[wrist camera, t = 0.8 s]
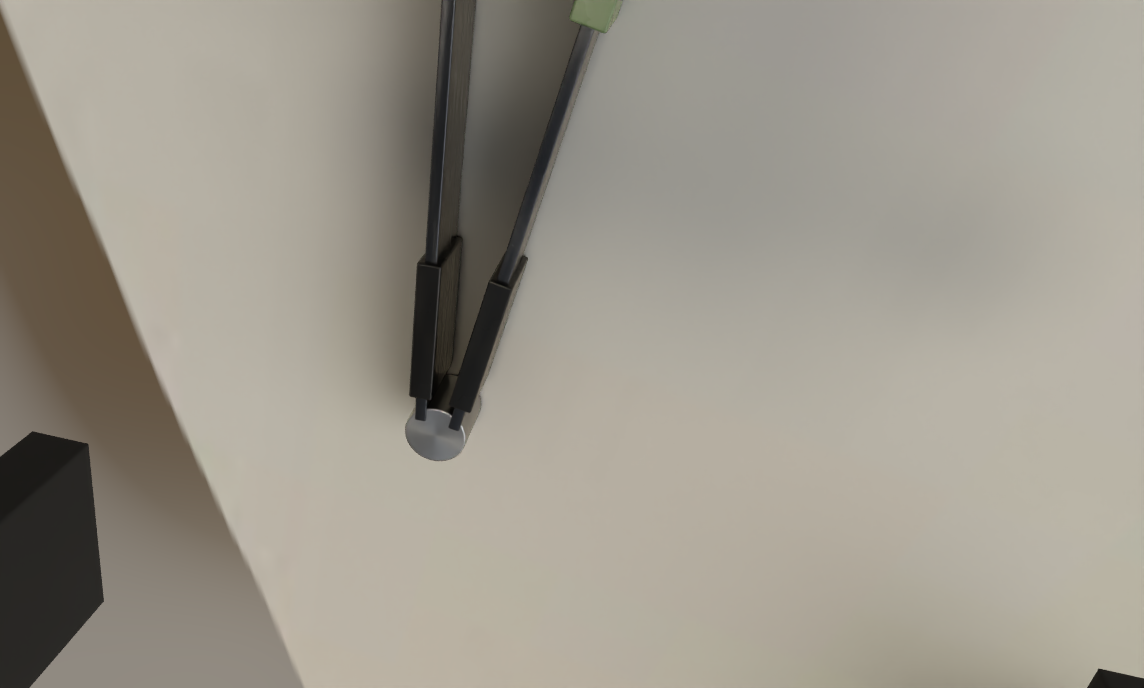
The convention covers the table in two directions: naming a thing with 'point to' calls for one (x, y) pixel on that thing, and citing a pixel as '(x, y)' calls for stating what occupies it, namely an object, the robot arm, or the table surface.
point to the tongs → (448, 398)
